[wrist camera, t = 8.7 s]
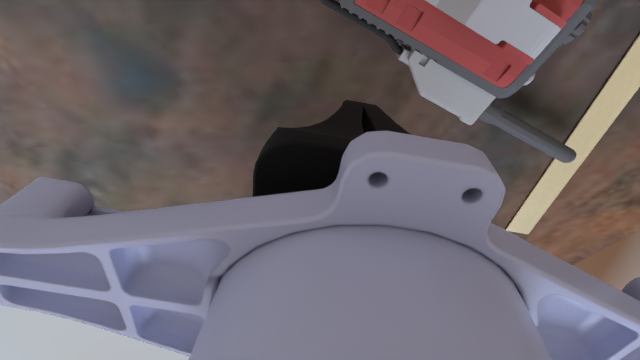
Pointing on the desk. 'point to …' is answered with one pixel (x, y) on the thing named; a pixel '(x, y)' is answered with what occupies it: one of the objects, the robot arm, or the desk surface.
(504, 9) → the walkie-talkie
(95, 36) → the desk surface
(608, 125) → the tape line
